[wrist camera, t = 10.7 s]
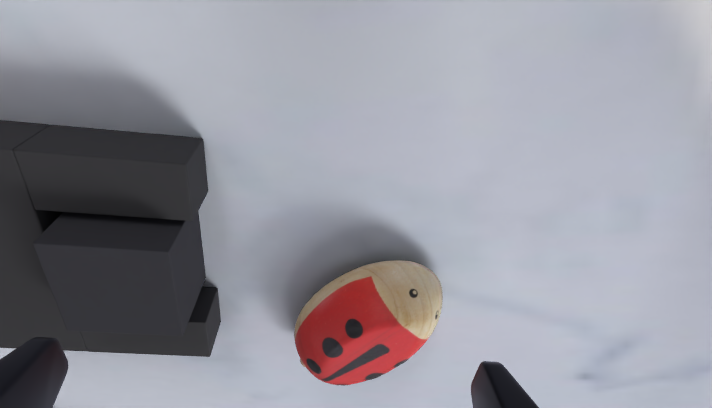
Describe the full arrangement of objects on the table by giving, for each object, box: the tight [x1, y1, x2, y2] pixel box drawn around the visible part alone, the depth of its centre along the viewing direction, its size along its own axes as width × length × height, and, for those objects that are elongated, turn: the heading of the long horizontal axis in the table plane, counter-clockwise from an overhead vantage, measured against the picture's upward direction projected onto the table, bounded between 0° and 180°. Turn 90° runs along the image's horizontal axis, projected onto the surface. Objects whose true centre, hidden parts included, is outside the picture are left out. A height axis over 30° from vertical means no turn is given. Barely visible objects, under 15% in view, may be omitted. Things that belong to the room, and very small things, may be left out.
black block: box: [33, 212, 206, 336], centre depth 19 cm, size 5×5×4 cm
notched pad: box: [0, 120, 221, 357], centre depth 20 cm, size 11×12×2 cm
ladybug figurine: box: [294, 260, 442, 385], centre depth 23 cm, size 7×10×4 cm
